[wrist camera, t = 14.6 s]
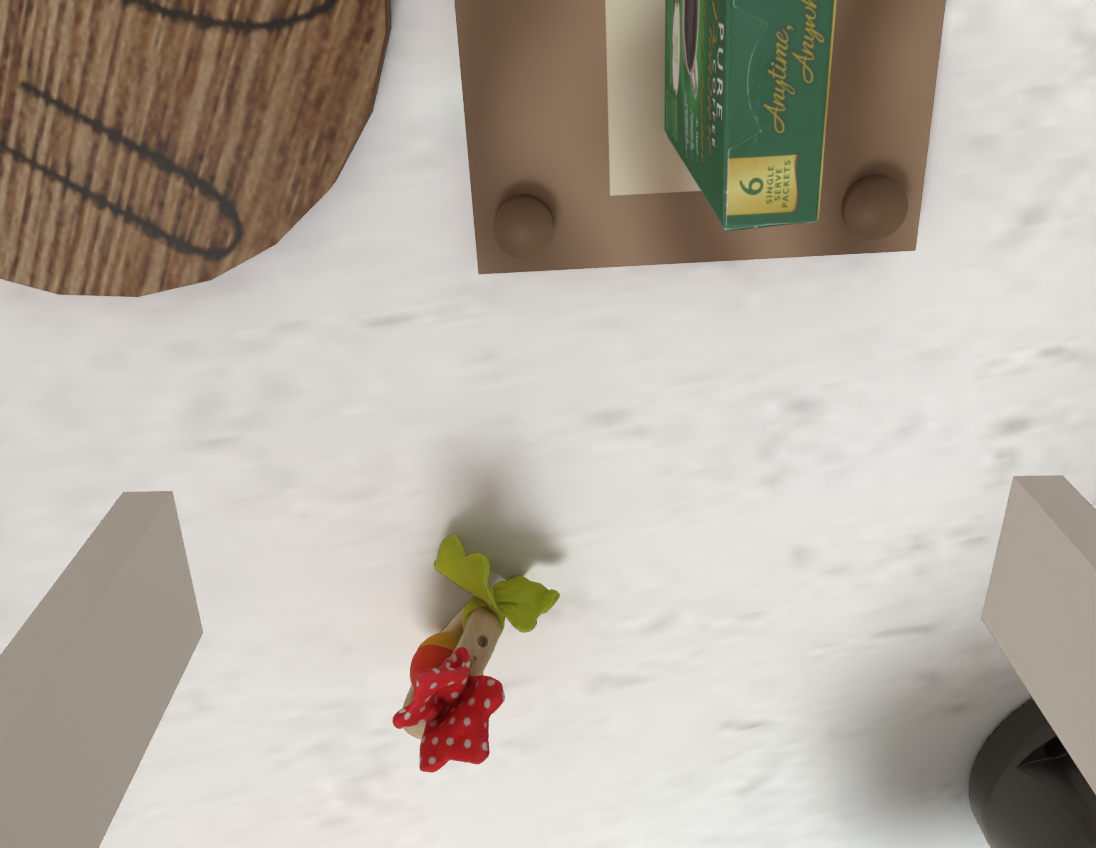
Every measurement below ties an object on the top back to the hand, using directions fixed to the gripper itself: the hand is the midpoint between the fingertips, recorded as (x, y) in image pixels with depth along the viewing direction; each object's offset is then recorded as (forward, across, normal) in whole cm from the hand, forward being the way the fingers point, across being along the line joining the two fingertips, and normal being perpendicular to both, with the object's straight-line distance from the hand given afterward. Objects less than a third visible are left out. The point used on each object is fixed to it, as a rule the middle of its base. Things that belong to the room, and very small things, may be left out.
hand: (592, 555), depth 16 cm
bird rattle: (+28, +5, +22) cm, 36 cm away
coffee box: (+26, -5, -6) cm, 27 cm away
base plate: (+28, -5, -6) cm, 29 cm away
